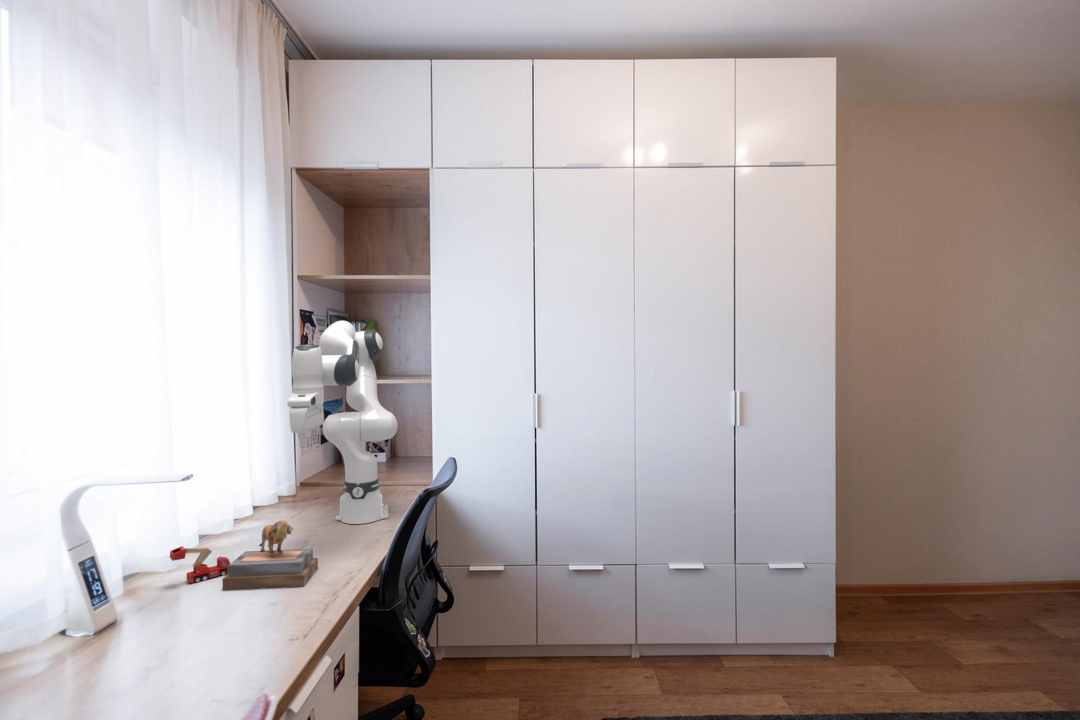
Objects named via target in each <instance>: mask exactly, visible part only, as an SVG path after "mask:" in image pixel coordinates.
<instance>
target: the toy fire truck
mask: <svg viewBox="0 0 1080 720" xmlns="http://www.w3.org/2000/svg"><path fill="white" fill-rule="evenodd" d="M212 552H213V551H212V550H211V549H209V548H208V547H185V546H183V545H182V546H179V547H176V548H174V549H171V550H170V551H169V558H170V560H171V561H179V560H185V558H186V554H187V553H188V554H189V553H192V554H193V553H195V554H197V553H198V554H199V555H198V556H197V558H196V560H195V562H194V563H193V564H192V566H193V570H192V571H189V572H186V581H187V582H188V583H189V584H191V583H197V584H198V583H200V582H201V580H202V581H203V582H204V581H207V580H208V579H211V578H215V577H218V576H222V577H223V575H224V576H226V575H227V574H228V565H229V564H231V562H230V559H229V558H228V557H226V556H218V557H217V558H216V565H213V566H208V565H207V563H204V562H205V561H206V559H207V558H208V557H209V556H210V554H211V553H212Z"/></svg>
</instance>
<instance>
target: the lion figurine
mask: <svg viewBox="0 0 1080 720" xmlns="http://www.w3.org/2000/svg"><path fill="white" fill-rule="evenodd" d="M293 530H294V527H293V526H291V525H289V523H288V522H287V520H285V519H284V520H283V519H282V520H279V521H277V522H275V523H274V524H272V525H271V524H267V525H266V526H265V525H264V527H263V529H262V532H261V543H259V545H258V547H260V549H259V551H266V548H265V544H266V541H267V542H268V544H267V547H268V549H269V550H268V551H269V555H274V551H273V550H274V545H277V547H276V550H277V552H278V553H282V552H283V551H282V550H283V549H282V545H283V542H284V540H285V539H286V538H287V536H288V535H292V532H293Z"/></svg>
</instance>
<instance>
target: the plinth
mask: <svg viewBox="0 0 1080 720" xmlns="http://www.w3.org/2000/svg"><path fill="white" fill-rule="evenodd" d="M281 550H282V551H283V552H282V553H278V552H277V549H276V550H275V549H273V551H274V555H269V550H265V551H260V550H250V551H249V550H248V551H247V550H246V551H244V552H243V553H241V554H240V555H239V556H237V557H236V558H235V559H234V560H232V561H231V562H230V564H229V565H228V573H227V574H226V575H224V577H223V578H222V581H221V582H222V591H240V590H244V591H245V590H260V589H259V588H265V589H281V588H283V587H286V588H302V587H304V588H305V586H306V585H307V583H308V582H309V580H310V579H311V578H312V576H313V575H314V574H315V573H316V571H317V570H318V569H319V565H318V563H319V562H318V559H319V558H318V557H314V552H313V551H314V549H313V548H299V549H297V548H296V549H281ZM283 589H284V588H283Z"/></svg>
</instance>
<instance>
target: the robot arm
mask: <svg viewBox="0 0 1080 720" xmlns="http://www.w3.org/2000/svg"><path fill="white" fill-rule="evenodd" d="M318 342H319V343H318V344H313V343H312V344H310V343H309V344H301V345H296V346H295V347H294V348H293V352H292V356H291V358H292V360H291V376H292V377H291V378H292V380H293V381H292V386H291V393H290V394H291V395H290V397H289V398H288V399H287V407H289V426H290V431H291V432H292V434H297V437H298V441H299V447H300V448H305V447H307V446H308V440H307V433H308V432H309V431H310V436H309V440H310V442H311V443H314V442H317V441H318V434H319V431H320V430H319V429H320V427H321V426H322V433H323V436H324V437H325V439H326V440H327V441H328V442H330V443H332V444H333V445H334V446H335V447H336V448H337V449H338V450H339V452H340V454H341V456H342V459H343V464H344V474H345V477H344V478H345V480H344V482H343V483H344V484H343V490H344V493H343V494H342V495H341V496H339V497H340V498H339V514H337V515H336V516H335V518H334V520H335V519H336V520H335V521H339V520H340V522H342V523H343V524H348V525H349V524H350V525H361V524H363V525H364V524H369V523H374V522H377V521H379V520H384V519H389V518H390V517H389V506H388V504H385V503H383V495H382V492H381V490H380V481H379V476H378V459H377V457H376V456H375V454H373V453H371V452H369V451H367V450H365V449H363V448H362V447H360V443H365V442H366V443H367V442H370V443H371V442H382V441H386V440H390V439H393V437H395V435H396V433H397V431H398V420H397V418H396V416H395V415H394V414H393V413H392V412H391V411H388V410H387V409H386V408H384V406H382V405H381V403H380V401H379V399H378V379H377V373H376V368H375V365H374V363H373V362H376V361H378V359H379V357H380V355H381V354H382V352H383V349H384V348H383V347H384V346H383V339H382V337H381V335H380V333H379V332H378V331H377V330H375V329H365V330H364V331H363V330H362V331H356V328H355V327H354V325H353V324H352V323H351V322H350V321H347V320H337V321H334V322H333V323H331V324H330V325H329V326H327V328H326V329H325V330H324V331H323V332H322V333H321V334H320V337H319V341H318ZM324 386H342V387H346V394H345V397H346V398H345V399H346V402H347V405H348V406H350V408H352V409H353V410H355V411H345V412H337V413H333V414H329V415H327V417H326V418H325V413H324V403H325V401H324V400H325V399H324V398H325V394H324V392H325V391H324V389H325V387H324Z"/></svg>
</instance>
